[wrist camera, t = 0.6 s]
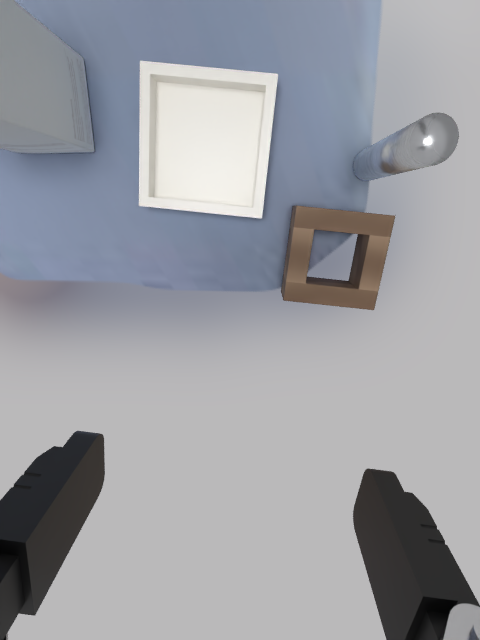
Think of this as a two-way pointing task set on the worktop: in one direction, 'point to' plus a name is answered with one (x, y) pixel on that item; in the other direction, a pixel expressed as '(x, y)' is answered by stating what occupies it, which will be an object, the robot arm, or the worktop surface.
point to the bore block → (364, 266)
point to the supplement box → (40, 88)
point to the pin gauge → (409, 148)
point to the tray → (204, 138)
